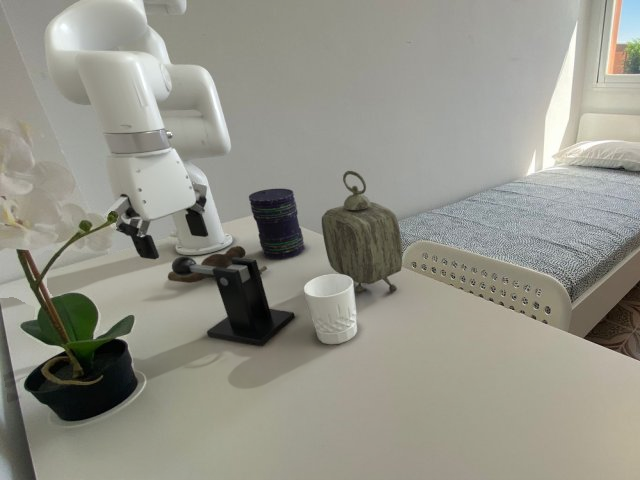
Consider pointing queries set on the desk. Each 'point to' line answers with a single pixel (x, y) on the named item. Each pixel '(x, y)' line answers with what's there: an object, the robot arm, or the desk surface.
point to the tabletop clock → (362, 239)
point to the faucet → (214, 261)
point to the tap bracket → (246, 307)
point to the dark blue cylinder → (277, 223)
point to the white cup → (332, 307)
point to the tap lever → (202, 268)
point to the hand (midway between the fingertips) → (176, 246)
